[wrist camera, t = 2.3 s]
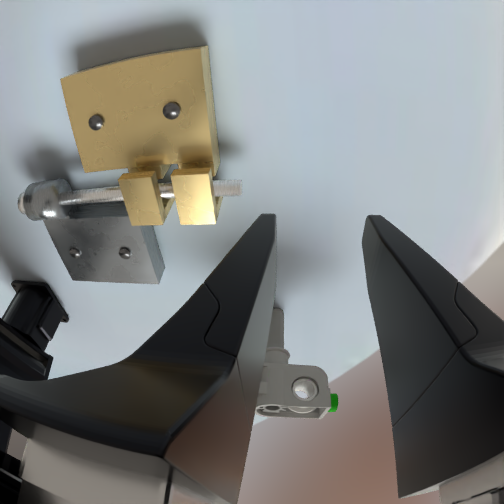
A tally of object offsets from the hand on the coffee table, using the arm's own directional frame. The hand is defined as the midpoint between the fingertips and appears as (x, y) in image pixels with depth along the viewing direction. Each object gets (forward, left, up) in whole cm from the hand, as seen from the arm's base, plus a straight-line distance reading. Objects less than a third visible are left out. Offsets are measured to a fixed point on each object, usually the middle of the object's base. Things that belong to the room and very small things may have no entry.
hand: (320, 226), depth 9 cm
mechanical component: (-2, -19, -12) cm, 23 cm away
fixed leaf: (-12, -8, -12) cm, 19 cm away
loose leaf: (-10, -1, -12) cm, 15 cm away
